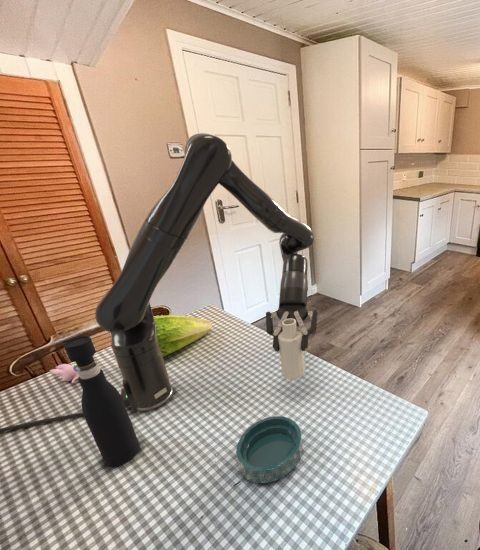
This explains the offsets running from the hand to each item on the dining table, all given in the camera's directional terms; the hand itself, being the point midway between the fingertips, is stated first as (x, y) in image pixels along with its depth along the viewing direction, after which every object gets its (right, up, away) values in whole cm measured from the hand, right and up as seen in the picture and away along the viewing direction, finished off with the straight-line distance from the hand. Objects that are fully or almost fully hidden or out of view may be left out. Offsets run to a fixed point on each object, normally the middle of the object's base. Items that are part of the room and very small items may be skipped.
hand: (290, 350), depth 78 cm
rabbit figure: (-67, -12, +13) cm, 70 cm away
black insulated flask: (-35, -21, -10) cm, 42 cm away
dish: (-2, -21, -10) cm, 23 cm away
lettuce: (-46, -5, +30) cm, 55 cm away
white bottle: (0, -7, +5) cm, 9 cm away
